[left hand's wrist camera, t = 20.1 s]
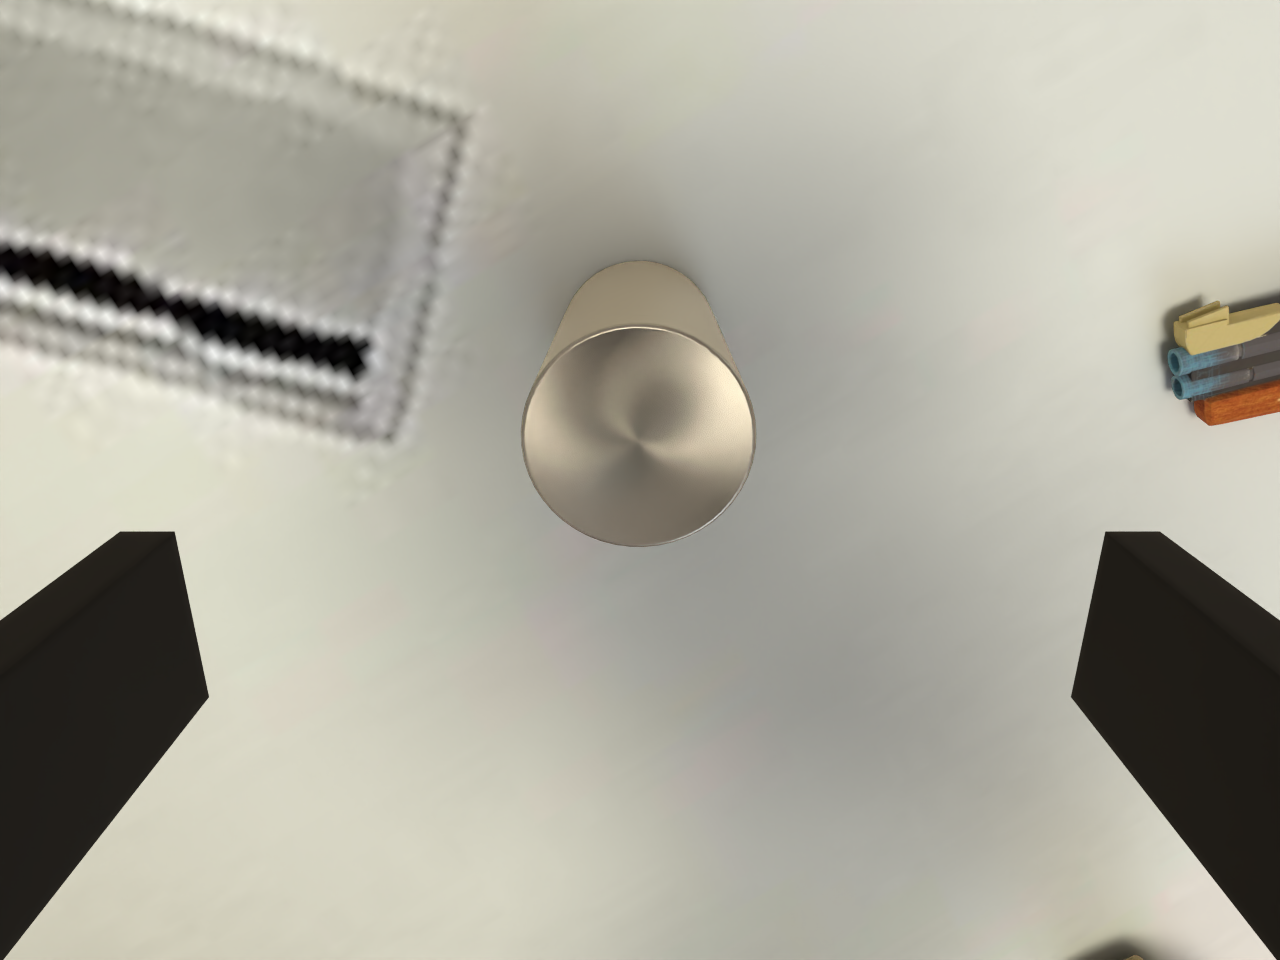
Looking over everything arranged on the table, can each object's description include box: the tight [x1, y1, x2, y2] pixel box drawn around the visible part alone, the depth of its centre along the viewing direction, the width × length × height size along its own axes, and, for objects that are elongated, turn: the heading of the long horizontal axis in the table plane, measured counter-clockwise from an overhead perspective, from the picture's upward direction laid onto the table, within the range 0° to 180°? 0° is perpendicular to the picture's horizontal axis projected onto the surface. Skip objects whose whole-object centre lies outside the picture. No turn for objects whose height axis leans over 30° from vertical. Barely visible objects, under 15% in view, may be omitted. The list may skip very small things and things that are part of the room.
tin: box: [521, 261, 756, 547], centre depth 26 cm, size 6×6×11 cm
